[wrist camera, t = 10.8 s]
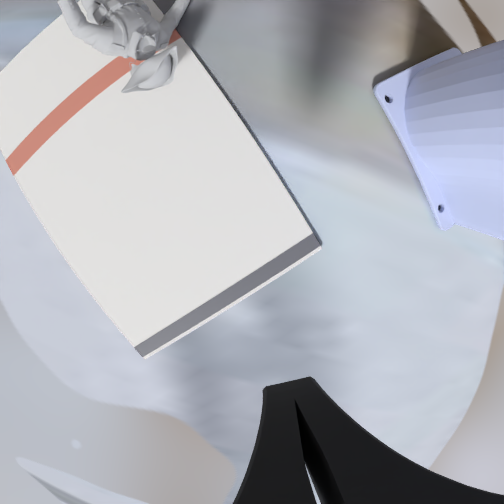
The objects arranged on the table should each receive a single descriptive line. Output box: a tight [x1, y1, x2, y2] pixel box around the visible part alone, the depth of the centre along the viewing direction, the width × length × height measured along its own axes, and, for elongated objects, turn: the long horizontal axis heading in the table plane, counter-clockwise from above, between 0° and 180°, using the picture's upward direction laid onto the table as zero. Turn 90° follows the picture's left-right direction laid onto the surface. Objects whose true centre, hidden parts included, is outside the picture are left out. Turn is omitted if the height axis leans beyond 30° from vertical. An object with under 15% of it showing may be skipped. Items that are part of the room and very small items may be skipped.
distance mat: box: [0, 0, 322, 359], centre depth 15 cm, size 20×12×1 cm, turn 33°
